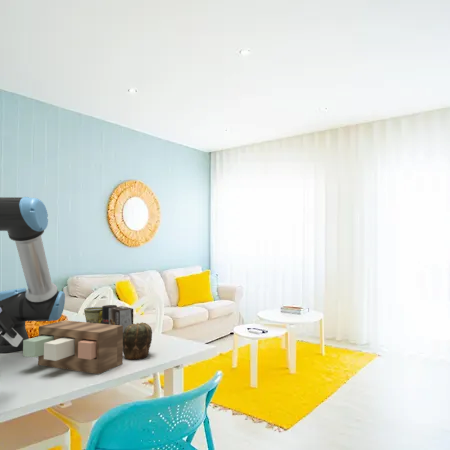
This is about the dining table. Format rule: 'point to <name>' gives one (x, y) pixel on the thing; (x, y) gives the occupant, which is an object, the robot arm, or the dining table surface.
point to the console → (103, 333)
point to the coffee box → (121, 316)
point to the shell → (137, 341)
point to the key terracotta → (87, 349)
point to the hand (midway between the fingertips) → (18, 342)
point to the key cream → (59, 348)
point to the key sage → (35, 345)
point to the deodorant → (106, 313)
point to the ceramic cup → (93, 314)
